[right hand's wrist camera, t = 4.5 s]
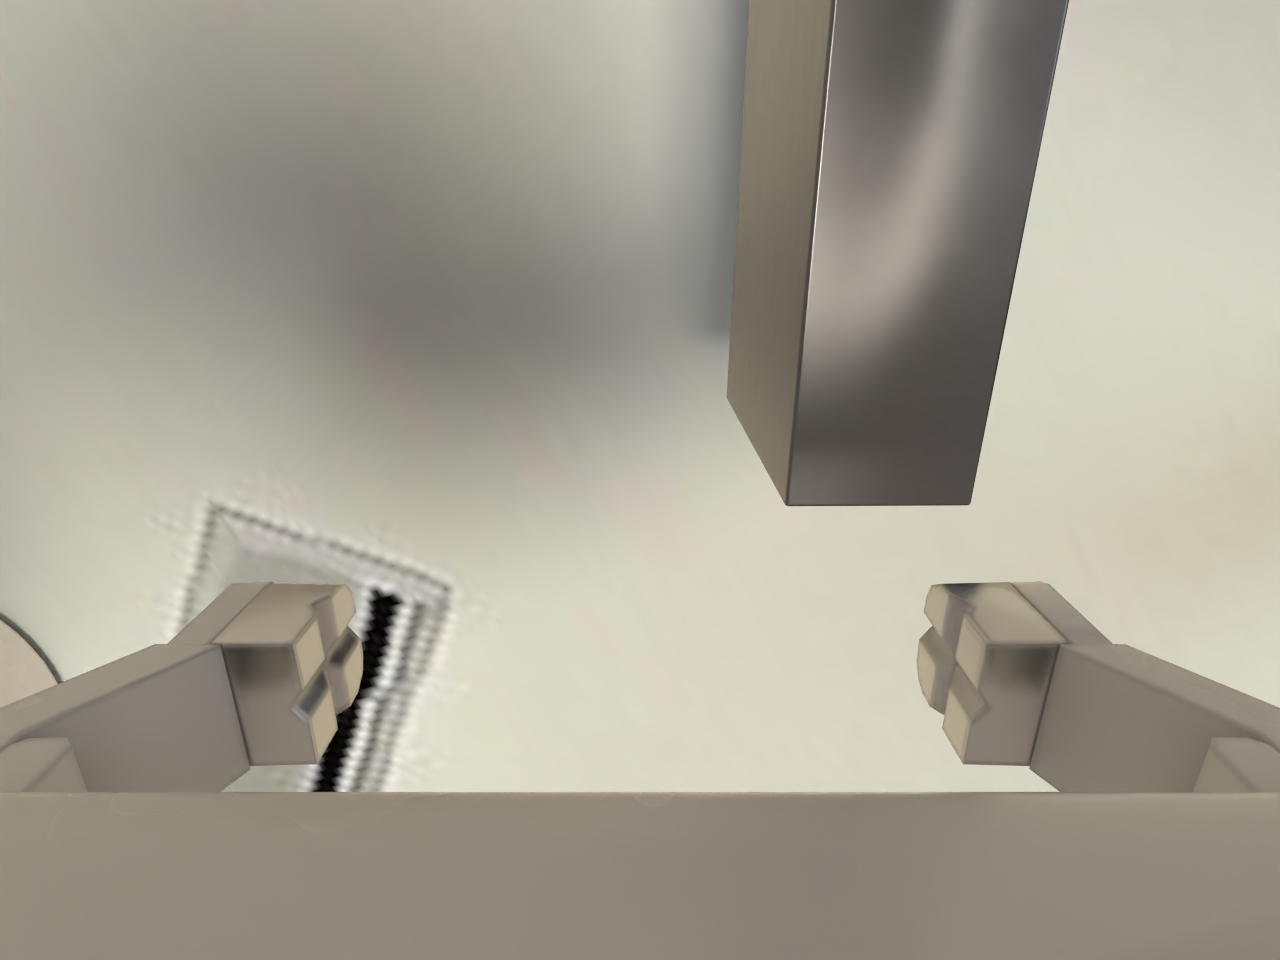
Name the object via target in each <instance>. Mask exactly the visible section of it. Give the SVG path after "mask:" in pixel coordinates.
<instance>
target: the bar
mask: <svg viewBox="0 0 1280 960" xmlns="http://www.w3.org/2000/svg"><path fill="white" fill-rule="evenodd" d="M1068 3H1069V0H749V15H748V32H747V50H746V68H745V85H744V103H743V121H742V138H741V156H740V173H739V191H738V209H737V226H736V244H735V262H734V279H733V297H732V314H731V332H730V350H729V367H728V385H727V399H728V401H729V403H730V405H731V406H732V408H733V410H734V412H735V414H736V416H737V417H738V419H739V421H740V423H741V425H742V427H743V428H744V430H745V432H746V434H747V436H748V437H749V439H750V441H751V443H752V445H753V447H754V448H755V450H756V452H757V454H758V456H759V458H760V459H761V461H762V463H763V465H764V467H765V469H766V470H767V472H768V474H769V476H770V478H771V480H772V481H773V483H774V485H775V487H776V489H777V490H778V492H779V494H780V496H781V498H782V500H783V501H784V503H785V505H787V506H905V505H969V504H970V503H971V498H972V493H973V488H974V482H975V477H976V472H977V467H978V462H979V457H980V452H981V447H982V442H983V437H984V431H985V426H986V421H987V416H988V411H989V406H990V401H991V396H992V391H993V385H994V380H995V375H996V370H997V365H998V360H999V355H1000V350H1001V345H1002V340H1003V334H1004V329H1005V324H1006V319H1007V314H1008V309H1009V304H1010V299H1011V294H1012V289H1013V283H1014V278H1015V273H1016V268H1017V263H1018V258H1019V253H1020V248H1021V243H1022V238H1023V232H1024V227H1025V222H1026V217H1027V212H1028V207H1029V202H1030V197H1031V192H1032V187H1033V181H1034V176H1035V171H1036V166H1037V161H1038V156H1039V151H1040V146H1041V141H1042V135H1043V130H1044V125H1045V120H1046V115H1047V110H1048V105H1049V100H1050V95H1051V90H1052V84H1053V79H1054V74H1055V69H1056V64H1057V59H1058V54H1059V49H1060V44H1061V39H1062V33H1063V28H1064V23H1065V18H1066V13H1067V8H1068Z"/></svg>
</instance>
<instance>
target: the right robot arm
mask: <svg viewBox="0 0 1280 960" xmlns="http://www.w3.org/2000/svg"><path fill="white" fill-rule="evenodd" d="M355 613H356V609H355V604H354V599H353V594H352V591H351V589H350V588H349V587H348V586H347V585H346V584H336V583H282V582H277V583H273V582H241V583H232V584H231V585H230V586H229V587H228V588H227V589H226V590H224V591H223V592H222V593H221V594H220V595H219V596H218V597H217V598H216V599H215V600H214V601H213V602H212V603H211V604H210V605H208V606H207V607H206V608H205V609H204V610H203V611H202V612H201V613H200V614H199V615H198V616H197V617H196V618H195V619H193V620H192V621H191V622H190V623H189V624H188V625H187V626H186V627H185V628H184V629H183V630H182V631H181V632H180V633H178V634H177V635H176V636H175V637H174V638H173V639H172V640H171V641H170V642H169V643H168V644H155V645H152V646H150V647H147V648H145V649H143V650H140V651H138V652H135V653H133V654H130V655H128V656H125V657H123V658H121V659H118V660H116V661H113V662H111V663H108V664H106V665H104V666H101V667H99V668H96V669H94V670H91V671H89V672H86V673H84V674H82V675H79V676H77V677H74V678H72V679H69V680H67V681H65V682H62V683H60V684H58V683H57V682H56V680H55V678H54V676H53V674H52V673H51V671H50V670H49V668H48V667H47V665H46V664H45V662H44V661H43V660H42V658H41V657H40V656H39V655H38V654H37V652H36V651H35V650H34V649H33V648H32V647H31V646H30V645H29V644H28V643H27V642H26V641H25V640H24V639H23V638H22V637H21V636H20V635H19V634H18V633H17V632H16V631H14V630H13V629H12V628H11V627H10V626H8V625H7V624H6V623H4V622H3V621H2V620H0V960H1280V708H1278V707H1276V706H1274V705H1271V704H1269V703H1266V702H1264V701H1261V700H1259V699H1257V698H1254V697H1252V696H1249V695H1247V694H1244V693H1242V692H1240V691H1237V690H1235V689H1232V688H1230V687H1227V686H1225V685H1223V684H1220V683H1218V682H1215V681H1213V680H1210V679H1208V678H1206V677H1203V676H1201V675H1198V674H1196V673H1193V672H1191V671H1188V670H1186V669H1184V668H1181V667H1179V666H1176V665H1174V664H1171V663H1169V662H1167V661H1164V660H1162V659H1159V658H1157V657H1154V656H1152V655H1150V654H1147V653H1145V652H1142V651H1140V650H1137V649H1135V648H1133V647H1130V646H1128V645H1125V644H1112V643H1111V642H1110V641H1109V640H1108V639H1107V638H1106V637H1105V636H1104V635H1103V634H1102V633H1101V632H1100V631H1098V630H1097V629H1096V628H1095V627H1094V626H1093V625H1092V624H1091V623H1090V622H1089V621H1088V620H1087V619H1086V618H1085V617H1083V616H1082V615H1081V614H1080V613H1079V612H1078V611H1077V610H1076V609H1075V608H1074V607H1073V606H1072V605H1071V604H1070V603H1069V602H1067V601H1066V600H1065V599H1064V598H1063V597H1062V596H1061V595H1060V594H1059V593H1058V592H1057V591H1056V590H1055V589H1054V588H1053V587H1051V586H1050V585H1049V584H1046V583H1043V582H1040V581H1038V582H1015V583H1010V582H1001V583H960V584H937V585H931V588H930V590H929V592H928V594H927V597H926V603H925V608H924V613H925V614H926V616H927V618H928V619H929V621H930V622H931V624H932V625H933V626H932V627H931V628H930V629H929V630H928V631H927V632H926V633H925V634H924V635H923V636H922V637H921V638H920V639H919V646H918V654H917V668H918V679H919V683H920V686H921V689H922V692H923V695H924V697H925V698H926V700H927V702H928V704H929V706H930V707H932V708H934V709H935V710H937V711H938V712H940V713H941V714H943V715H945V716H944V722H943V728H942V729H943V730H944V732H945V734H946V736H947V737H948V739H949V741H950V743H951V744H952V746H953V748H954V749H955V751H956V753H957V755H958V756H959V758H960V760H961V762H962V763H963V764H977V765H1014V766H1030V768H1029V769H1030V770H1032V771H1033V772H1034V773H1036V774H1037V775H1038V776H1040V777H1041V778H1042V779H1044V780H1045V781H1046V782H1048V783H1049V784H1050V785H1052V786H1053V787H1054V788H1056V789H1057V790H1058V791H1060V792H221V791H222V790H223V789H225V788H226V787H227V786H229V785H230V784H231V783H233V782H234V781H235V780H237V779H238V778H239V777H241V776H242V775H243V774H245V773H246V772H247V771H249V770H250V766H265V765H301V764H317V763H318V762H319V760H320V758H321V756H322V755H323V753H324V751H325V750H326V748H327V746H328V744H329V743H330V741H331V739H332V737H333V736H334V734H335V732H336V730H337V729H338V728H337V722H336V716H335V715H337V714H339V713H340V712H342V711H343V710H345V709H346V708H348V707H350V706H351V704H352V702H353V700H354V698H355V696H356V695H357V693H358V690H359V686H360V681H361V677H362V673H363V652H362V645H361V639H360V638H359V637H358V636H357V635H356V634H355V633H354V632H353V631H352V630H351V629H350V628H349V627H348V626H347V625H348V624H349V622H350V621H351V619H352V618H353V616H354V614H355Z"/></svg>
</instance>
